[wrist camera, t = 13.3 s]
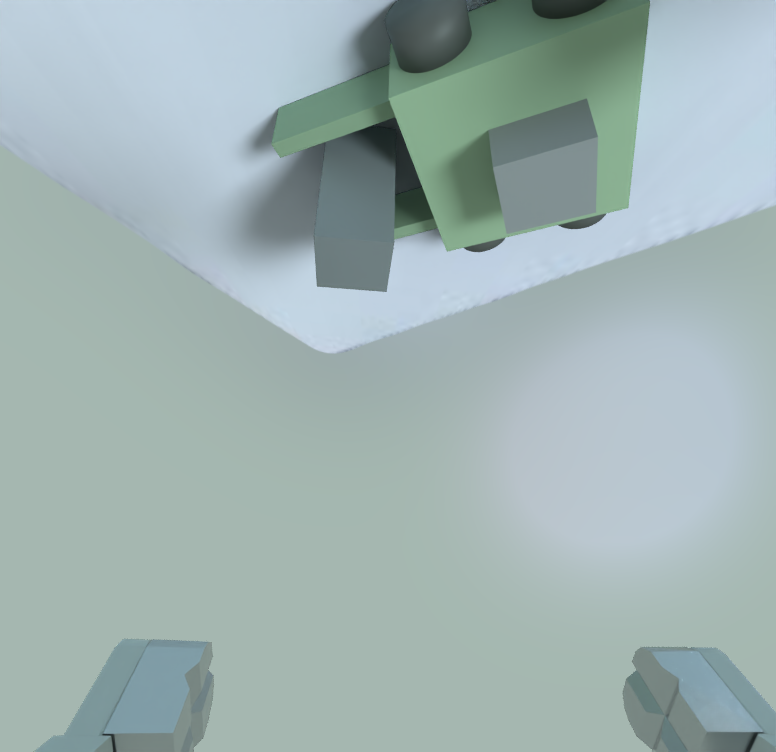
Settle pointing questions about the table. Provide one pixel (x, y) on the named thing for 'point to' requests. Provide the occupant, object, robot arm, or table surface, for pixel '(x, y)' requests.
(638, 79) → the green toy forklift
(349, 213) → the tall gray column
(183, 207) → the table surface
